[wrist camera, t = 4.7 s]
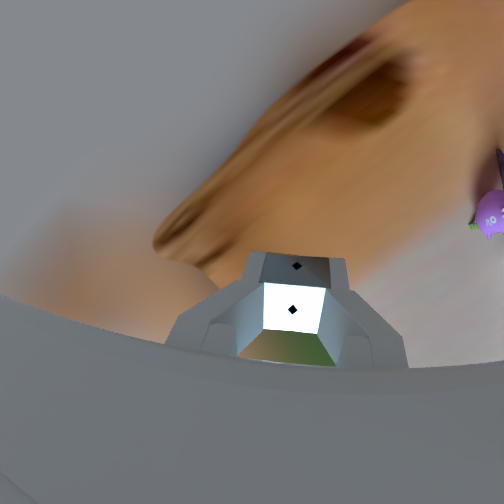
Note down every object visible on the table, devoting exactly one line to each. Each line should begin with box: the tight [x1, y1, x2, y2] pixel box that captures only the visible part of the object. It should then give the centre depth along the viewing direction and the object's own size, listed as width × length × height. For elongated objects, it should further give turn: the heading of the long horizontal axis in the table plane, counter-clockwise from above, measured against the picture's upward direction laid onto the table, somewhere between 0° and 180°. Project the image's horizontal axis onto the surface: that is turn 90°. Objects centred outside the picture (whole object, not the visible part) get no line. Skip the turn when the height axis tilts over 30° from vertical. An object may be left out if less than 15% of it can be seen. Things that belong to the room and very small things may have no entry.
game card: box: [468, 149, 504, 240], centre depth 15 cm, size 7×5×9 cm
